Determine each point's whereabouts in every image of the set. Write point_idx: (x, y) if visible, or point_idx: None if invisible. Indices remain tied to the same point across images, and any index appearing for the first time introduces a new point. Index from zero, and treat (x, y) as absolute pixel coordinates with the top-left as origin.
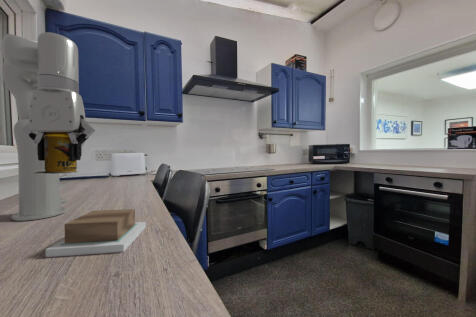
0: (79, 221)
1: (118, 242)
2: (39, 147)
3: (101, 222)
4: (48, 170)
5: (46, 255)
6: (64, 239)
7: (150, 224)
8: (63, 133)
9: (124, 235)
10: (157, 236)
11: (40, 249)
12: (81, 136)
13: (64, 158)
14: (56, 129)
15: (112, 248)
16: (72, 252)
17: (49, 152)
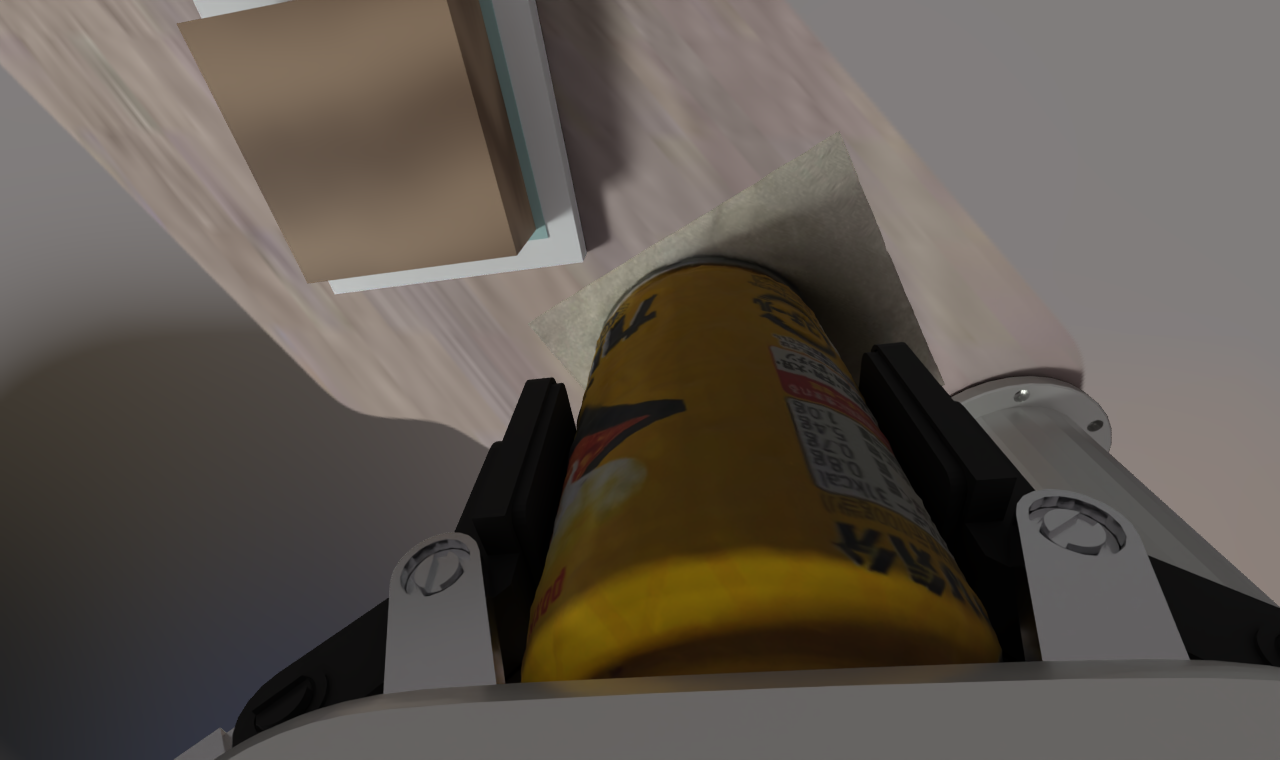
0: (399, 28)
1: (231, 8)
2: (955, 435)
3: (254, 8)
4: (736, 269)
5: None
6: (532, 51)
7: (355, 321)
8: None
9: None
10: (205, 170)
11: (624, 15)
12: (303, 683)
13: (602, 372)
14: (615, 726)
15: None
16: None
17: (741, 352)
